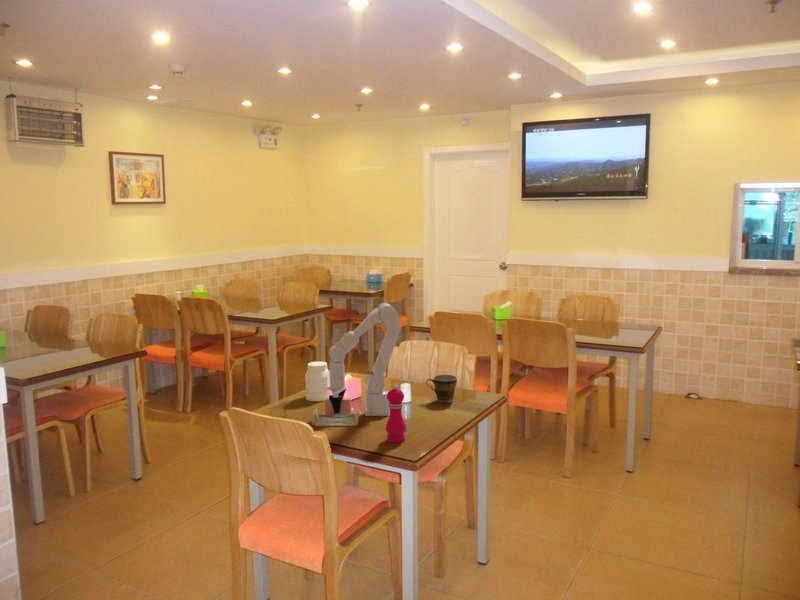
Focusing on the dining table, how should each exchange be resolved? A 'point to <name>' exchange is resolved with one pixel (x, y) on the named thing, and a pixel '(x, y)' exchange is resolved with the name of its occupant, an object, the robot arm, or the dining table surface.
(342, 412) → the door panel
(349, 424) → the door track
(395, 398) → the pepper mill
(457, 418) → the dining table surface
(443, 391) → the ceramic cup
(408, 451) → the dining table surface
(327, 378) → the jar
